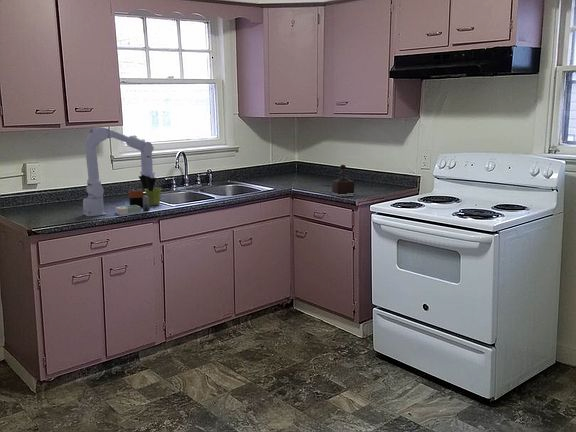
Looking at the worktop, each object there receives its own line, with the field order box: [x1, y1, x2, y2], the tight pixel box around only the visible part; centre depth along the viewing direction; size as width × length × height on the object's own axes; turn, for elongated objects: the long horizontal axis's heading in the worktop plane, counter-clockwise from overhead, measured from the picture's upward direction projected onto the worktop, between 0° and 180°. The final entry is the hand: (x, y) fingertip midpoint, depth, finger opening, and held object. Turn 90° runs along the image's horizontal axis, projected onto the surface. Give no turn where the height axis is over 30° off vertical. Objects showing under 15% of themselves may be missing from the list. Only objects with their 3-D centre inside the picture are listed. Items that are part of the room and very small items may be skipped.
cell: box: [142, 195, 150, 212], centre depth 307 cm, size 3×3×8 cm
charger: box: [114, 204, 143, 216], centre depth 301 cm, size 11×8×3 cm
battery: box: [128, 188, 144, 209], centre depth 315 cm, size 4×7×10 cm, turn 119°
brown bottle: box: [331, 164, 355, 194], centre depth 355 cm, size 16×11×18 cm
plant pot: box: [143, 187, 163, 206], centre depth 324 cm, size 9×9×9 cm
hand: (148, 189), depth 310 cm, fingers open, 7 cm apart
